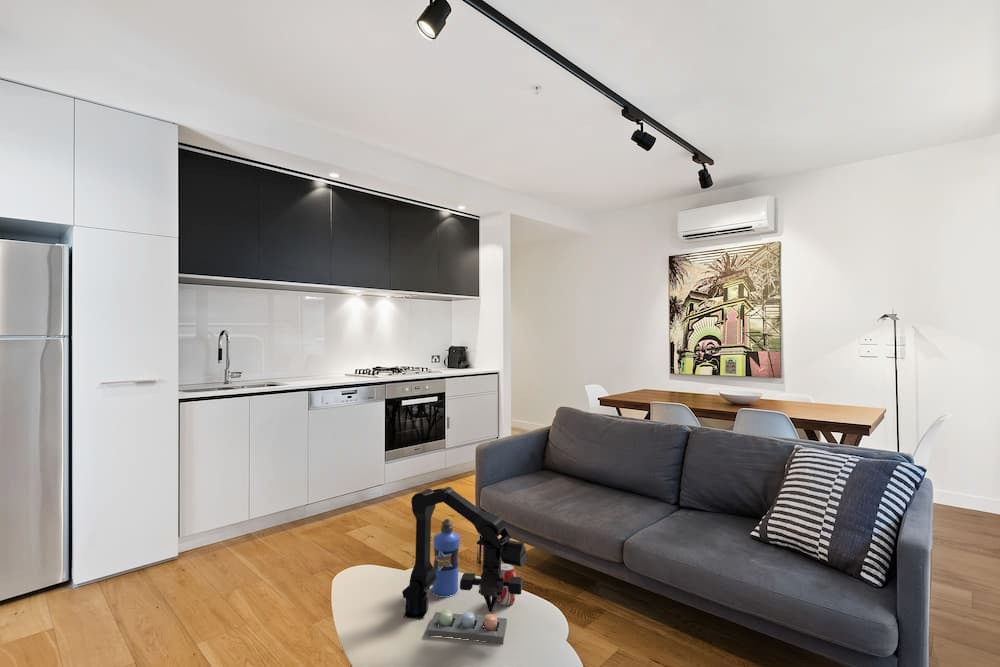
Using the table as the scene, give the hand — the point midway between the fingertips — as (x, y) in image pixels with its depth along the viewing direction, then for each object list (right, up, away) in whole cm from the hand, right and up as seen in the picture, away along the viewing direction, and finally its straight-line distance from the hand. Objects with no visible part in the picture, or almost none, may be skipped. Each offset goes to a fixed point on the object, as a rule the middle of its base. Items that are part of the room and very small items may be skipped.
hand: (490, 611), depth 149 cm
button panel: (-7, -6, +1) cm, 9 cm away
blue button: (-7, -5, +1) cm, 8 cm away
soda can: (+5, -7, +18) cm, 20 cm away
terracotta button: (0, -5, 0) cm, 5 cm away
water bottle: (-17, -7, +25) cm, 31 cm away
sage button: (-14, -5, +1) cm, 15 cm away
